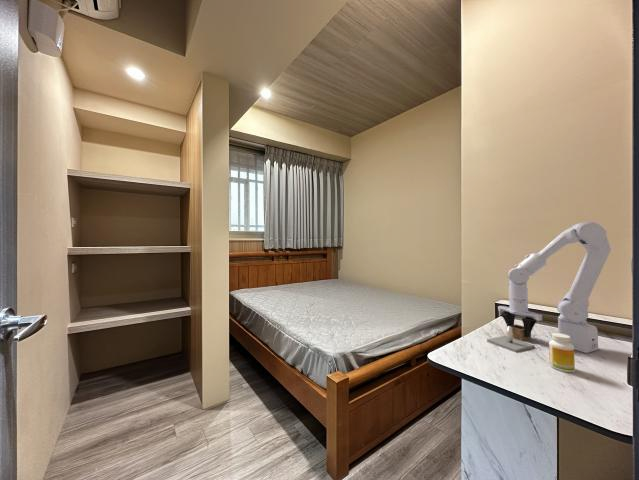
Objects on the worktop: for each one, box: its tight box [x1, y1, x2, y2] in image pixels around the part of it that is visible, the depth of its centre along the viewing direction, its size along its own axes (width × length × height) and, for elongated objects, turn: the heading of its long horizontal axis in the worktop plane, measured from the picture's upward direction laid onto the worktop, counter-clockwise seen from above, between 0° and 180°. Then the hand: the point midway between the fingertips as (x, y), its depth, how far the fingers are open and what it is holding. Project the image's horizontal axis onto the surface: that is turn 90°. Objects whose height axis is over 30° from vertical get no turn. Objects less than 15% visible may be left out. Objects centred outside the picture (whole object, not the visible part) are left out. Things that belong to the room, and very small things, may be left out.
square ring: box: [506, 324, 532, 342], centre depth 98 cm, size 5×5×4 cm
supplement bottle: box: [548, 332, 576, 373], centre depth 74 cm, size 5×5×10 cm
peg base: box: [486, 326, 536, 353], centre depth 92 cm, size 10×10×7 cm
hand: (519, 333), depth 98 cm, fingers closed on square ring, 5 cm apart
